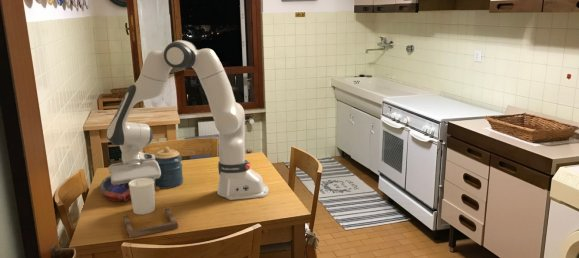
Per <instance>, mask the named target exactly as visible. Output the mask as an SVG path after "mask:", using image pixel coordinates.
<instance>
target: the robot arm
mask: <svg viewBox="0 0 579 258" xmlns="http://www.w3.org/2000/svg"><path fill="white" fill-rule="evenodd" d="M190 68H192V69H193V70H194V71H195V73H196V75H197V78H198V80H199V82H200V85H201V87H202V89H203V90H204V91H203V92H204V93H205V96H206V98H207V102H208V106H209V109H210V113H211V114H212V118H213V121H214V125H215V128H216V130H217V131H218V132H219V135H218V144H217V145H218V163H217V166H218V167H217V168H218V169H217V170H218V175H219V178H218V179H219V180H218V187H217V191H216V192H217V193H216V194H217V195H218V196H219V197H223V198H226V199H227V200H231V201H235V200H244V199H253V198H254V199H255V198H264V197H266V196H268V194H269V186H268V185H267V184H266V183H264V181H263V177H262V175H260V173H258V172H256V171H254V170H253V169H252V168H251V162H250V160H247V159H246V153H245V151H246V150H245V132H246V130H245V129H246V128H245V127H246V119H245V118H246V114H245V109H244V108H243V106H242V105H241V103H239V102H236V98H235V95H234V91H233V87H232V85H231V82H230V80H229V78H228V75H227V72H226V70H225V68H224V67H223V64H222V62H221V61H220V58H219V57H218V55H217V54H216V52H215V51H214V50H213V49H211V48H208V47H207V48H201V49H197V47H196V45H195V44H194V43H193V42H191V41H189V40H185V39H184V40H183V39H180V40H179V39H177V40H175V41H173V42H172V41H171V42H170V43H169V44H167V45H166V47H165V48H164V50H159V49H154V50H151V51H149V52H148V53H147V55H146V57H145V59H144V62H143V64H142V67H141V70H140V74H139V75H138V76H139V77H138V79H137V80H136V81H135V82H134V83H133V84H132V85H129V86H128V87H127V89H126V91H125V93H124V94H123V96H122V98H121V100H120V103H119V105H118V107H117V111H116V112H115V115H114V116H113V118H112V120H111V122H110V124H109V125H108V126H107V128H106V129H107V130H106V138H107V140H108V141H109V142H110V143H111V144H113V146H119V149H120V151H121V161H122V162H117V163H111V164H110V165H108V173H109V174H110V175H111V183H112V184H113V185H117V184H124V183H129V182H130V181H132V180H135V179H139V178H151V179H153V180H154V179H157V178H160V176H161V170H160V167H159V164H158V162H157V161H156V160H155V156H154V155H155V154H152V153H145V152H143V148H144V149H145V148H147V146H149V144H150V143H152V141H153V138H154V133H153V130H152V127H151V126H150V125H149V124H148V123H141V122H131V121H127V120H128V118H129V116H130V115H131V112H132V109H133V108H134V106H135V105H136V104H138V103H140V102H142V101H146V100H152V99H155V98H157V97H159V96H160V95H162V94H163V93H164V92H165V89H166V86H167V84H168V80H169V76H170V73H171V70H173V69H179V70H181V69H190Z"/></svg>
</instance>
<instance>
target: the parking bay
mask: <svg viewBox="0 0 579 258" xmlns="http://www.w3.org/2000/svg"><path fill="white" fill-rule="evenodd" d="M164 213H165V215H166V218H167V219H168V221H169V222H167V223H162V224H158V225H154V226H148V227H143V228H138V229H133V227H132V224H131V220H130V218H129V216H128V215H123V223H124V225H125V228H126V230H127V231H126V232H127V235H128V237H129V239H130V238H131V239H132V238H137V237H141V236H147V235H150V234H157V233H160V232H166V231H170V230H172V231H173V230H176V229H179V224H178V222H177V219H176V218H175V216H174V214H173V213H172V211H171V209H170V208H169V207H166V208H165V209H164Z"/></svg>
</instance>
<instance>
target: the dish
mask: <svg viewBox="0 0 579 258" xmlns="http://www.w3.org/2000/svg"><path fill="white" fill-rule="evenodd" d="M99 190H100V192H101V194H102V196H103V197H104V198H105V199H106V200H108V201H113V202H125V201H128V200H130V199H131V195H130V189H129V183H124V184H117V185H113V184H112V183H111V174H110V175H108V176H107V177H105V178H104V179H102V181H101V182H100V185H99Z"/></svg>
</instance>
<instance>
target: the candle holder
mask: <svg viewBox="0 0 579 258" xmlns="http://www.w3.org/2000/svg"><path fill="white" fill-rule="evenodd" d="M129 189H130V195H131V198H130V201H131V206H132V211H133V213H134V214H136V215H148V214H151V213H153V212H154V211H155V209H156V207H155V206H156V198H155V197H156V194H155V189H156V188H155V181H154V179H151V178H139V179H135V180H132V181H130V182H129Z"/></svg>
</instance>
